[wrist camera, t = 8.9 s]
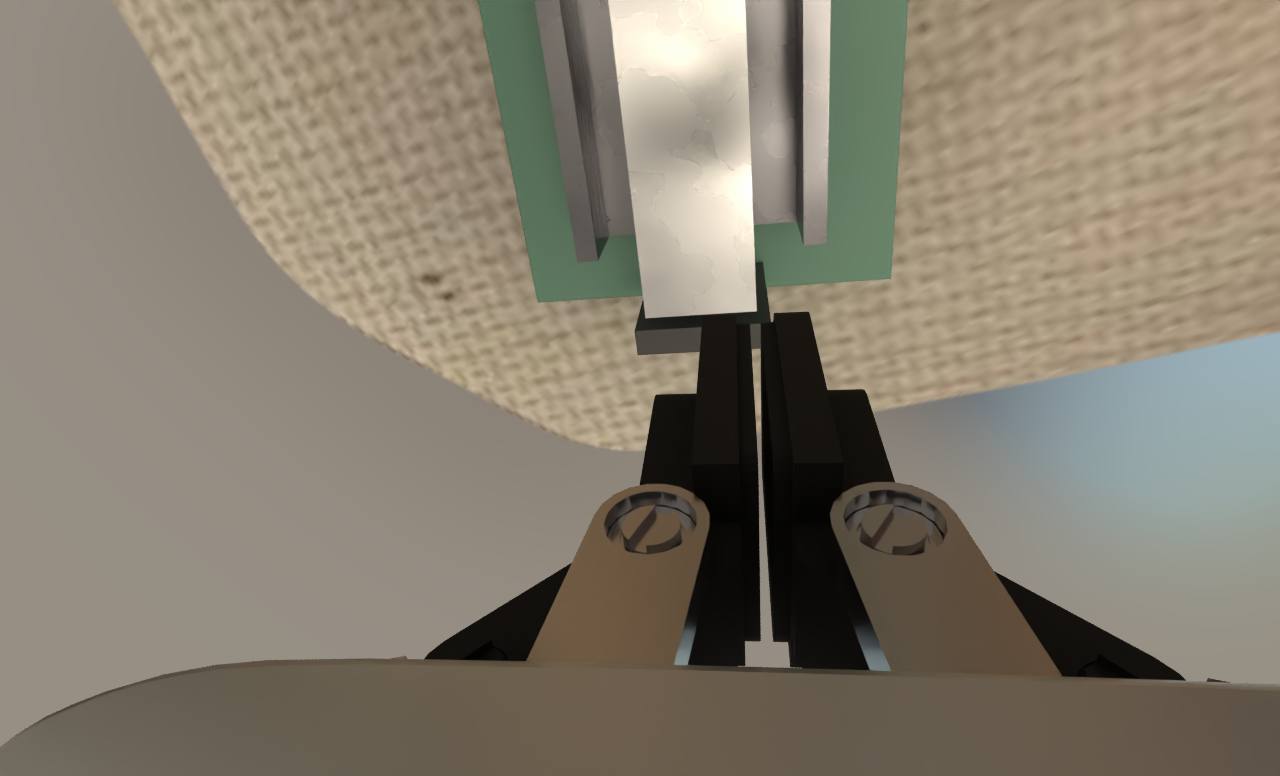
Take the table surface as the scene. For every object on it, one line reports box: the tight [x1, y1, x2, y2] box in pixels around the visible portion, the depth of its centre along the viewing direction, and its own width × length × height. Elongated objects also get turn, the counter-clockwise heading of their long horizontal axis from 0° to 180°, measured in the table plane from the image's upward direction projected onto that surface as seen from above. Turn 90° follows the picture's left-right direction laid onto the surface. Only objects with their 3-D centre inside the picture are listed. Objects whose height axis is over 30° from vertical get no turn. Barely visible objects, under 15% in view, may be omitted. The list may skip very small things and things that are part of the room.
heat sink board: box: [478, 0, 908, 355], centre depth 25 cm, size 20×16×8 cm
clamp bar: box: [608, 0, 757, 318], centre depth 22 cm, size 16×4×1 cm, turn 7°
